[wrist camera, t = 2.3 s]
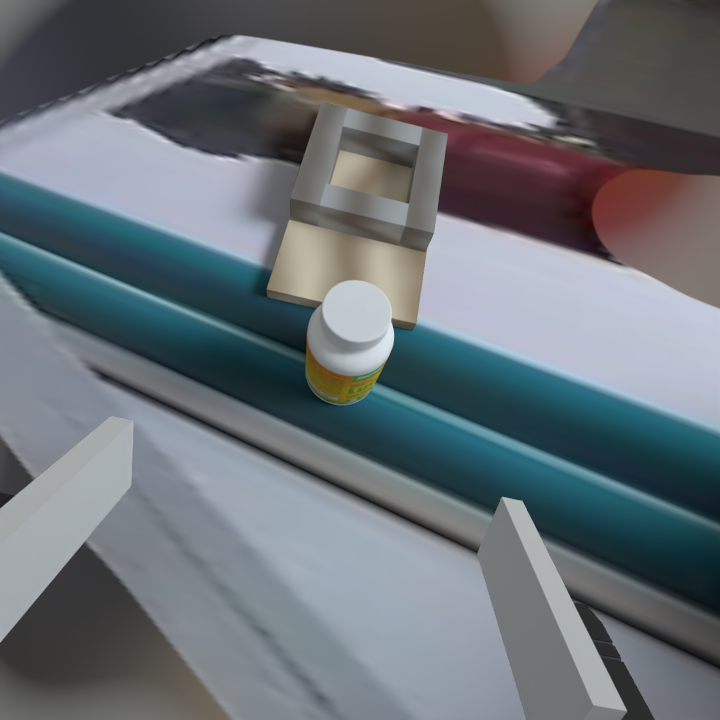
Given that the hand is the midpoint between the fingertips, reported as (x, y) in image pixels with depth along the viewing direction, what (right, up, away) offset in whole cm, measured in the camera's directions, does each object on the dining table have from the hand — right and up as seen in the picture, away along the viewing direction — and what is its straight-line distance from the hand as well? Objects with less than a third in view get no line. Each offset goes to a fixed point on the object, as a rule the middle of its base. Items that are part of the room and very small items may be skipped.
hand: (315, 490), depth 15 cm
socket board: (+2, +18, +24) cm, 30 cm away
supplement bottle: (0, +4, +17) cm, 18 cm away
